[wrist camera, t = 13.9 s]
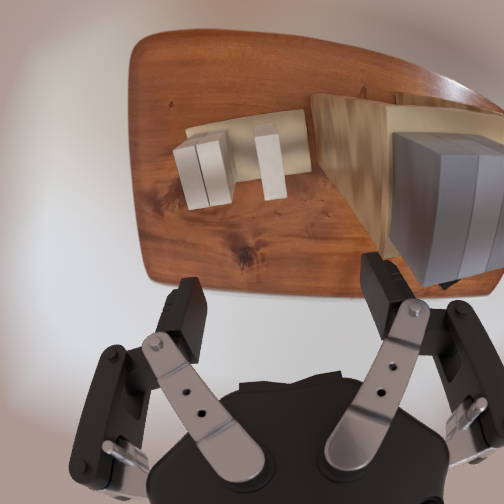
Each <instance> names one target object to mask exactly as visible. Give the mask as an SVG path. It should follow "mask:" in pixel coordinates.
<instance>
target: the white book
mask: <svg viewBox="0 0 504 504" xmlns="http://www.w3.org/2000/svg"><path fill="white" fill-rule="evenodd" d="M254 139H255V144H256V150H257V156H258V162H259V167H260V173H261V179H262V185H263V191H264V197H265V201H266V200H273V199H280V198H287V191H286V183H285V176H284V169H283V162H282V155H281V148H280V141H279V135H278V132H277V130H276V128H275V126H274V124H273V123H265V124H259V125H255V131H254Z"/></svg>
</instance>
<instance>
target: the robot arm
mask: <svg viewBox="0 0 504 504" xmlns="http://www.w3.org/2000/svg"><path fill="white" fill-rule="evenodd" d="M360 285H361V289H362V292H363V295H364V297H365V299H366V302H367V304H368V307H369V309H370V312H371V314H372V316H373V319H374V321H375V324H376V327H377V329H378V332H379V334H380V337H381V340H384V341H383V343H382V345H381V347H380V350H379V352H378V354H377V356H376V358H375V360H374V363H373V364H372V366H371V368H370V370H369V372H368V374H367V376H366V378H365V380H364V382H361V381H359V380H356V379H352V378H343V377H342V374H341V371H335V372H329V373H324V374H318V375H314V376H311V377H308V378H306V379H303V380H300V381H297V382H295V383H292V384H286V383H276V382H268V381H259V382H246V383H239V390H237V391H234V392H232V393H230V394H228V395H226V396H224V397H223V398H221V399H220V400H218V399H217V398H216V397H215V395H214V394H213V393H212V392H211V390H210V389H209V388H208V386H207V385H206V384H205V383H204V381H203V380H202V379H201V377H200V376H199V375H198V373H197V372H196V371H195V369H194V368H193V367H192V365H191V364H196V363H198V361H199V356H200V350H201V344H202V338H203V332H204V327H205V321H206V316H207V302H206V299H205V296H204V293H203V290H202V287H201V285H200V282H199V279H198V278H197V277H189V278H182V279H181V282H180V285H179V288H178V289H173V291H172V292H171V293H170V294H169V295H168V296H167V299H166V302H165V306H164V308H163V312H162V313H161V316H160V319H159V322H158V325H157V328H156V331H155V333H153V334H151V335H149V336H148V337H147V338H146V339H145V340H144V341H143V344H142V346H141V347H138V348H135V349H132V350H128V351H126V350H125V348H124V347H123V346H122V345H112V346H110V347H108V348H107V349H105V350H104V352H103V353H102V354H101V357H100V359H99V362H98V365H97V368H96V371H95V374H94V377H93V380H92V383H91V386H90V389H89V392H88V395H87V398H86V402H85V405H84V408H83V411H82V415H81V418H80V422H79V426H78V429H77V433H76V437H75V441H74V445H73V449H72V453H71V457H70V462H69V473H70V475H71V477H72V479H74V480H75V481H76V482H78V483H80V484H82V485H84V486H86V487H88V488H89V489H91V490H93V491H96V492H98V493H100V494H103V495H105V496H108V497H113V498H115V499H118V500H121V501H127V500H129V499H131V498H133V499H138V500H144V501H150V503H151V504H444V501H443V491H444V484H445V479H446V475H447V471H448V470H451V469H453V468H455V467H458V466H461V465H463V464H465V463H469V464H478V463H480V462H482V461H483V460H485V459H486V458H488V457H489V456H491V455H492V454H493V453H495V452H496V451H498V450H499V449H501V448H502V447H503V446H504V366H503V364H502V362H501V360H500V358H499V355H498V353H497V351H496V350H495V348H494V346H493V344H492V342H491V340H490V338H489V336H488V334H487V332H486V330H485V329H484V327H483V325H482V323H481V322H480V320H479V318H478V316H477V315H476V313H475V311H474V310H473V308H472V307H471V305H469V304H468V303H467V302H465V301H461V300H454V301H452V302H450V303H449V304H448V306H447V309H431V308H429V306H428V305H427V304H426V303H425V302H424V301H422V300H420V299H416V298H415V296H414V294H413V293H412V291H411V289H410V287H409V286H408V284H407V283H406V281H405V279H404V278H403V276H402V274H400V271H399V270H398V268H397V266H396V265H395V264H393V263H392V262H390V261H389V260H385V261H383V260H382V258H381V256H380V255H379V253H378V252H377V251H376V252H370V253H363V254H362V256H361V273H360ZM418 355H429V356H433V359H434V362H435V364H436V367H437V369H438V373H439V375H440V378H441V381H442V384H443V387H444V390H445V393H446V396H447V399H448V402H449V406H450V409H451V412H452V414H451V416H450V417H449V418H448V420H447V423H446V438H445V440H444V439H443V438H442V437H441V436H440V435H439V434H438V433H436V432H435V431H433V430H432V429H431V428H429V427H428V426H426V425H425V424H423V423H422V422H420V421H419V420H417V419H416V418H414V417H413V416H412V415H410V414H409V413H407V412H406V411H404V410H403V409H401V408H400V407H399V404H400V402H401V399H402V397H403V394H404V392H405V390H406V387H407V385H408V382H409V379H410V377H411V374H412V371H413V369H414V366H415V363H416V360H417V357H418ZM158 388H161V389H162V390H163V392H164V394H165V396H166V397H167V399H168V401H169V402H170V404H171V406H172V407H173V409H174V410H175V412H176V414H177V415H178V417H179V418H180V420H181V421H182V423H183V425H184V426H185V427H186V429H187V431H188V432H187V434H185V435H184V437H182V439H181V440H180V441H179V442H178V443H177V444H175V445H174V447H172V448H171V449H170V450H169V451H168V452H167V453H166V454H165V455H164V456H163V457H162V458H161V459H160V460H159V461H158V462H157V463H156V464H155V465H154V466H153V467H152V469H151V470H149V467H148V458H147V456H146V454H145V453H144V452H143V451H141V447H142V441H143V434H144V428H145V422H146V415H147V410H148V404H149V398H150V394H151V390H154V389H158Z"/></svg>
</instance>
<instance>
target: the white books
mask: <svg viewBox="0 0 504 504" xmlns="http://www.w3.org/2000/svg"><path fill="white" fill-rule="evenodd" d="M265 123H273V124H274V126H275V128H276V130H277V132H278V135H279V141H280V148H281V155H282V162H283V169H284V175H290V174H298V173H306V172H312V170H311V161H310V152H309V143H308V135H307V127H306V120H305V112H304V109H297V110H288V111H280V112H272V113H265V114H258V115H252V116H246V117H240V118H234V119H229V120H224V121H219V122H214V123H209V124H204V125H200V126H195V127H191V128H187V129H185V130H186V135H187V140H185V141H184V142H183V143H182V144H180V145H179V146H178V147H177V148H175V149H174V150H173V154H174V157H175V161H176V165H177V169H178V173H179V176H180V180H181V184H182V187H183V191H184V195H185V198H186V202H187V205H188V209H189V210H193V209H199V208H204V207H209V206H216V205H222V204H228V203H232V200H233V195H234V190H235V184H236V182H242V181H249V180H255V179H261V173H260V167H259V162H258V156H257V150H256V144H255V139H254V131H255V125H259V124H265Z"/></svg>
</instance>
